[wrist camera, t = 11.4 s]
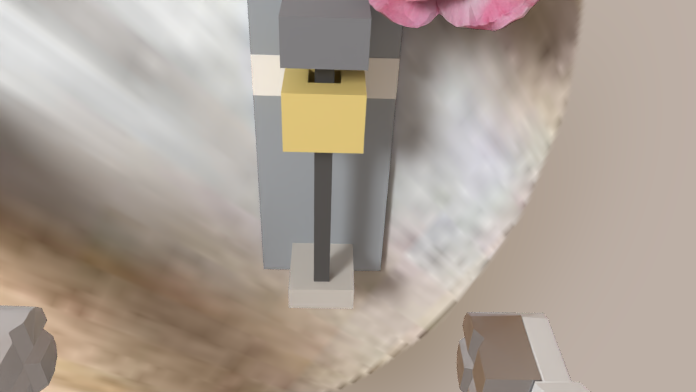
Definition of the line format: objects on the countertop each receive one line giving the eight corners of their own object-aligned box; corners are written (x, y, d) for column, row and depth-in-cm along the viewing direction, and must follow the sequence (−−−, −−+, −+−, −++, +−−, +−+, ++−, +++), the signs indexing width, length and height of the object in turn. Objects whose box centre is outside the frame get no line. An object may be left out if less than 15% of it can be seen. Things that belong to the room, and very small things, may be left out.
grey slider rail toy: (264, 264, 53) (255, 325, 47) (246, -33, 38) (230, 5, 32) (379, 266, 53) (385, 327, 48) (406, -28, 38) (418, 11, 33)
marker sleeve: (287, 112, 42) (282, 151, 38) (286, 58, 40) (280, 93, 36) (360, 114, 42) (363, 153, 38) (363, 60, 40) (366, 95, 36)
